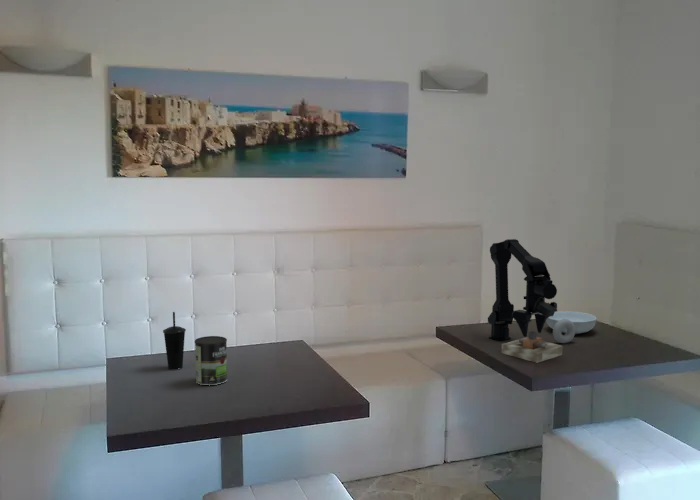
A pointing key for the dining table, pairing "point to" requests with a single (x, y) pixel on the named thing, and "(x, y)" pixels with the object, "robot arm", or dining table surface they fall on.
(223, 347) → the coffee can
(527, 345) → the brown u-shaped block
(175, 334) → the drinking cup
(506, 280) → the robot arm
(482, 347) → the dining table surface
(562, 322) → the donut
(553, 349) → the grey square tray
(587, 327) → the serving bowl
